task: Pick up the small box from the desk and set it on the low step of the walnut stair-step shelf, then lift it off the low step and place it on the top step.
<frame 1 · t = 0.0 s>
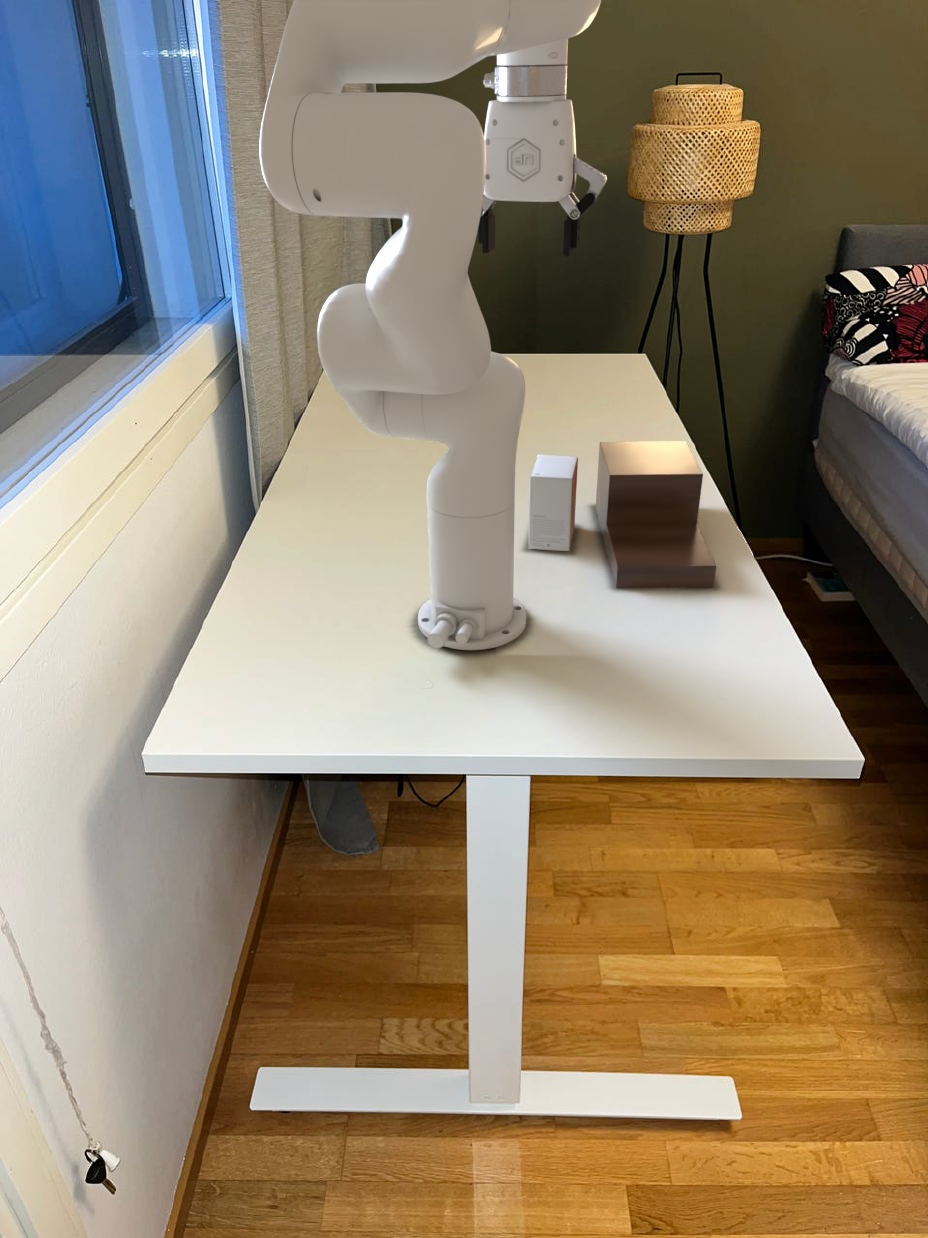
hand: (528, 252, 111), 37 cm above the table, tool pointing down, fingers open, 9 cm apart
step shelf: (649, 544, 127), on the table
small box: (552, 539, 129), on the table
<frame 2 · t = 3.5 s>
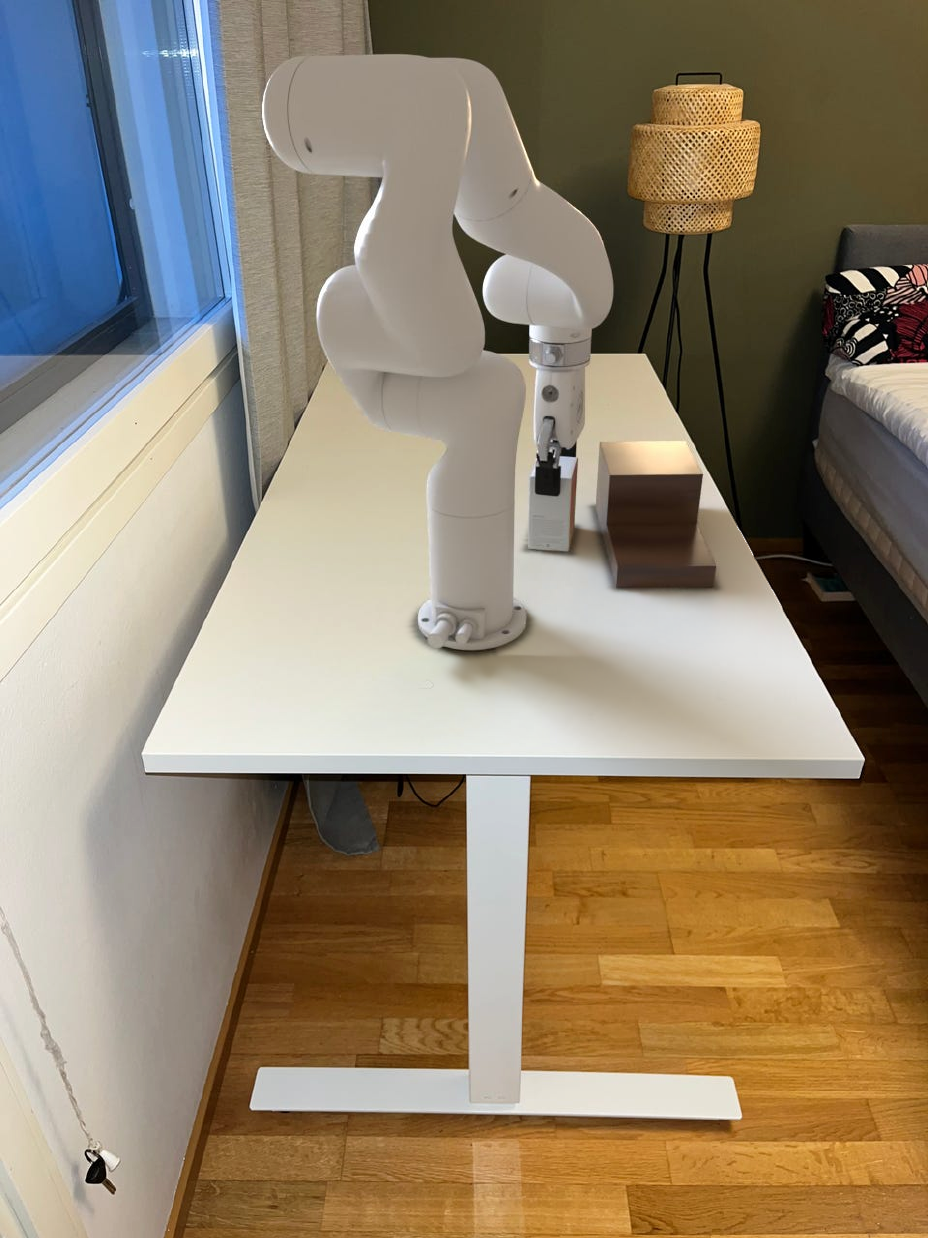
hand: (555, 479, 125), 8 cm above the table, tool pointing down, fingers open, 9 cm apart
nothing on the table moved.
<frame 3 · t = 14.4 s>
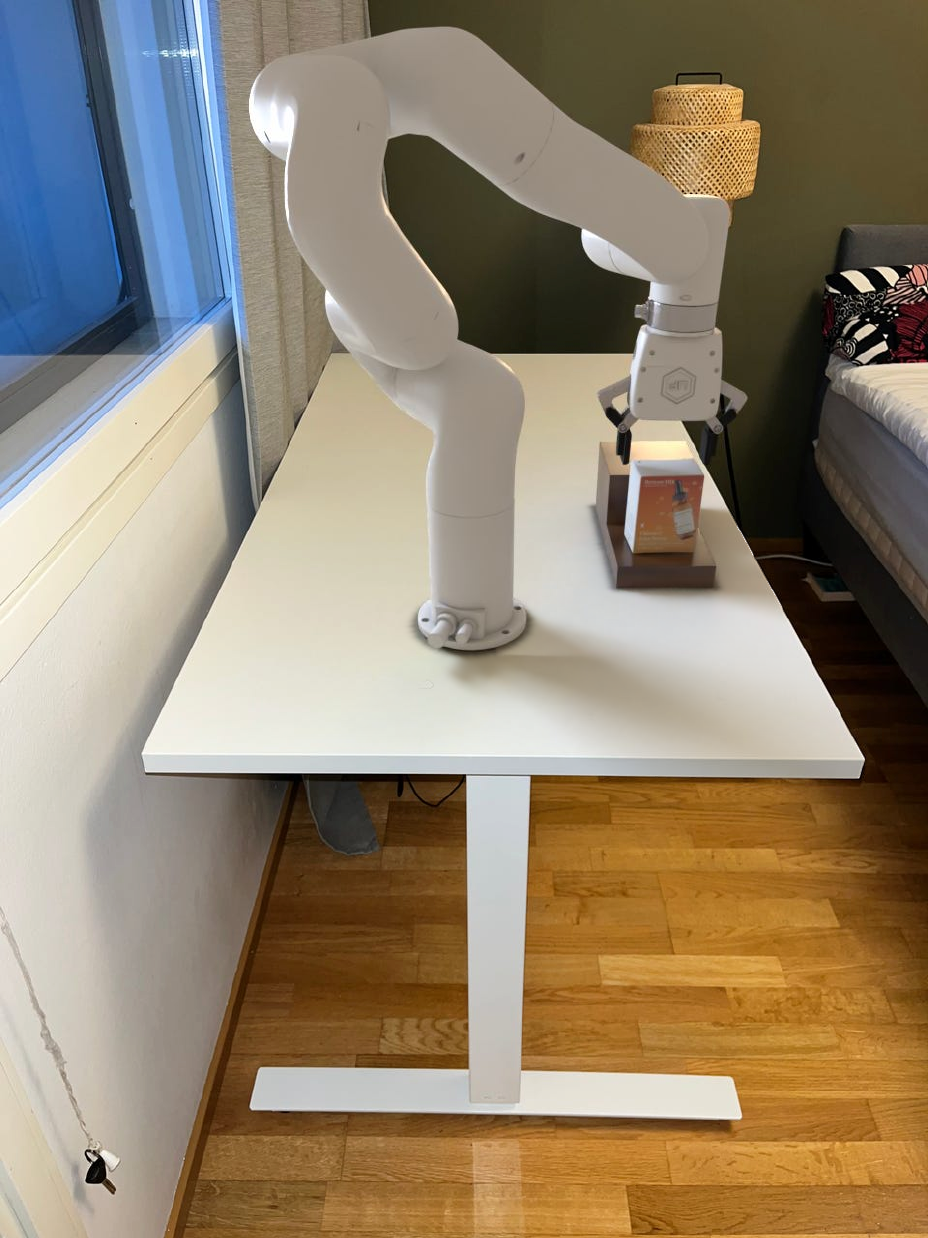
hand: (664, 461, 114), 14 cm above the table, tool pointing down, fingers open, 9 cm apart
small box: (658, 545, 121), point 3 cm above the table, touching step shelf
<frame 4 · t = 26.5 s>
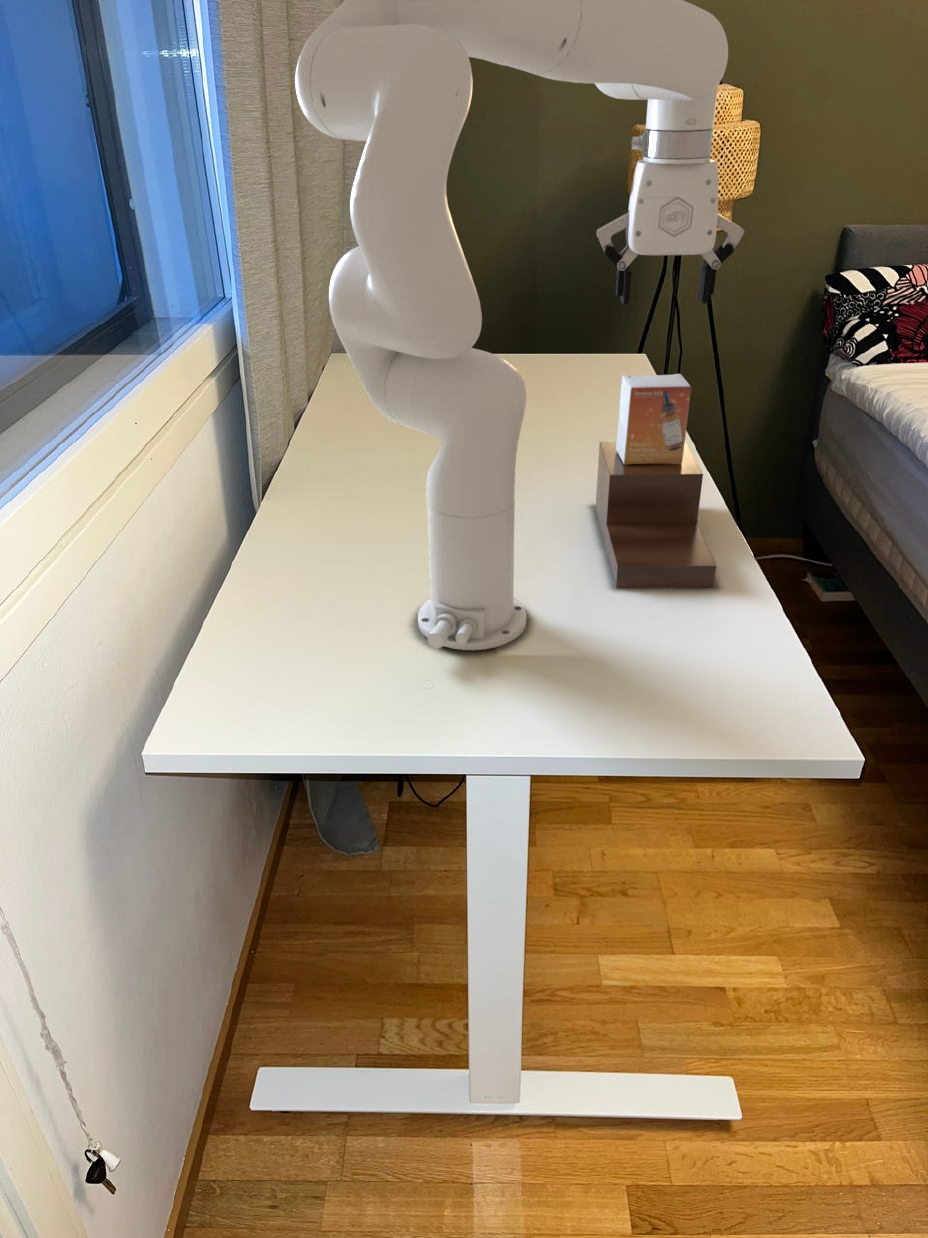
hand: (663, 301, 117), 30 cm above the table, tool pointing down, fingers open, 9 cm apart
small box: (648, 458, 127), point 10 cm above the table, touching step shelf
at the end: small box 0.1 cm from the target spot, point 9.8 cm above the table; small box tilted 0°; the gripper is holding nothing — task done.
